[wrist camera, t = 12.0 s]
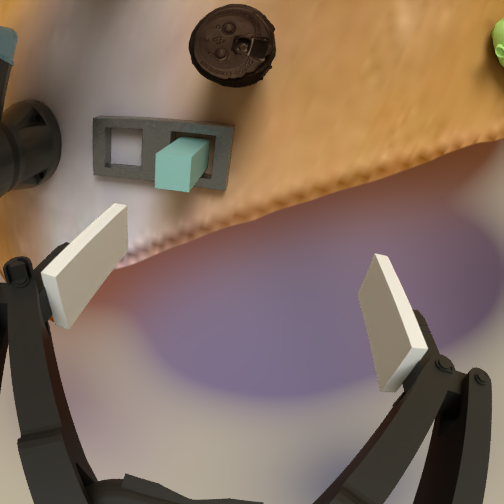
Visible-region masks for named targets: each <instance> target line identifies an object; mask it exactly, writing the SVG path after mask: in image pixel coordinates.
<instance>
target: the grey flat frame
mask: <svg viewBox="0 0 504 504" xmlns="http://www.w3.org/2000/svg"><path fill="white" fill-rule="evenodd" d="M111 127H114V128H136V129H143V137H142V166H133V165H122V164H111ZM234 129H235V125H227V124H219V123H210V122H200V121H190V120H179V119H165V118H149V117H126V116H98V117H95V118H93V171H94V175H101V176H111V177H121V178H130V179H140V180H148V181H155V163H156V153H158V152H159V151H160V150H162V149H163V148H165V147H166V146H168V145H169V144H171V143H172V142H174V141H175V131H177V132H188V133H198V134H207V135H215V136H216V140H215V149H214V158H213V167H212V175H210V174H202V175H201V177H200V178H199V179H198V181H197V182H196V183H195V185H194V186H196V187H203V188H210V189H217V190H224V191H225V190H226V187H227V183H228V175H229V167H230V159H231V152H232V144H233V136H234Z"/></svg>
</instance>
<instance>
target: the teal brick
mask: <svg viewBox="0 0 504 504" xmlns="http://www.w3.org/2000/svg"><path fill="white" fill-rule="evenodd" d="M209 148H210V139H203V138H193V137H183V136H182V137H180V138H178V139H177V140H175V141H174V142H172V143H171V144H169V145H168V146H166V147H165V148H163V149H162V150H160V151H159V152H158V153H156V163H155V188H158V189H166V190H174V191H182V192H190V190H191V189H192V188H193V186H194V185H195V183H196V182H197V181H198V179H199V178H200V177H201V175H202V174H203V173H204V171H205V170H206V169H207V167H208V158H209Z"/></svg>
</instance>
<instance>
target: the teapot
mask: <svg viewBox="0 0 504 504" xmlns="http://www.w3.org/2000/svg"><path fill="white" fill-rule="evenodd" d="M491 37H492V39H493V45H494V49H495V53H496V55H497V57H498V60H499V64H500V65H501V66H503V67H504V19H501V20H500V21H498V22H497V23H496V25H495V27H494V30H493V31H491Z"/></svg>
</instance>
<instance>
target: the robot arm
mask: <svg viewBox="0 0 504 504" xmlns="http://www.w3.org/2000/svg"><path fill="white" fill-rule="evenodd" d="M16 44H17V34H16V32H15V31H14V30H13V29H11V28H8V27H3V26H0V197H1V196H3V195H4V194H6V193H7V192H9V191H10V190H18V189H26V188H32V187H35V186H38V185H39V184H41V183H43V182H44V181H46V180H47V179H49V178H50V177H51V176H52V174H53V173H54V171H55V170H56V168H57V165H58V163H59V159H60V154H61V135H60V130H59V126H58V124H57V121H56V119H55V117H54V115H53V113H52V112H51V111H50V109H49V108H48V107H47V106H46V105H44V104H43V103H41V102H39V101H36V100H25V101H21V102H18V103H15V104H13V105H11V106H10V107H9V108H7V109H6V110H5V111H4V112H3V106H4V100H5V95H6V90H7V85H8V80H9V76H10V72H11V67H12V66H13V64H14V62H13V57H14V53H15V48H16ZM2 112H3V113H2ZM127 251H128V233H127V205H122V204H116V203H114V204H113V205H112V206H111V207H110V208H108V209H107V210H106V211H105V212H104V213H103V214H102V215H100V216H99V217H98V218H97V219H96V220H95V221H94V222H93V223H91V224H90V225H89V226H88V227H87V228H86V229H85V230H84V231H83V232H82V233H81V234H79V235H78V236H77V237H76V238H75V239H74V240H73V241H72V242H71V243H67V242H66V243H64V244H62V245H60V246H58V247H57V248H56V249H54V250H53V251H52V252H51V254H49V255H48V256H47V257H46V259H44V260H43V261H42V262H41V263H40V264H39V265H38V266H37V267H36V268H35V269H34V270H33V267H32V263H31V260H30V259H29V258H27V257H23V256H21V257H15V258H12V259H11V260H9V261H7V262H6V264H5V265H4V267H3V271H4V275H5V278H6V281H7V283H0V390H1V382H2V376H3V370H4V364H5V358H6V353H7V348H8V343H9V356H10V368H11V377H12V385H13V392H14V399H15V405H16V410H17V416H18V422H19V427H20V431H21V438H19V439H18V443H17V444H18V451H19V455H20V458H21V462H22V466H23V470H24V473H25V476H26V480H27V483H28V486H29V490H30V493H31V496H32V499H33V501H34V504H263V503H262V502H252V501H244V500H236V499H230V498H229V499H210V500H192V499H189V498H186V497H184V496H182V495H180V494H178V493H176V492H174V491H172V490H170V489H168V488H166V487H164V486H162V485H160V484H158V483H155V482H151V481H148V480H145V479H141V478H138V477H135V476H132V475H128V474H125V477H124V479H108V480H102V481H97V478H96V477H95V474H94V473H93V471H92V469H91V467H90V465H89V463H88V461H87V459H86V457H85V454H84V451H83V449H82V446H81V443H80V441H79V438H78V435H77V432H76V429H75V426H74V423H73V420H72V417H71V414H70V411H69V407H68V404H67V400H66V397H65V393H64V390H63V386H62V382H61V378H60V375H59V370H58V366H57V362H56V357H55V352H54V347H53V343H52V337H51V332H50V326H49V323H48V320H49V318H50V317H51V316H53V319H54V322H55V325H58V326H60V327H63V328H66V329H70V328H71V326H72V325H73V323H74V322H75V320H76V319H77V318H78V316H79V315H80V313H81V312H82V311H83V309H84V308H85V306H86V305H87V304H88V302H89V301H90V299H91V298H92V297H93V295H94V294H95V293H96V291H97V290H98V288H99V287H100V286H101V285H102V283H103V282H104V280H105V279H106V278H107V277H108V275H109V274H110V272H111V271H112V270H113V269H114V267H115V266H116V265H117V264H118V262H119V261H120V260H121V258H122V257H123V256H124V255H125V253H126V252H127ZM358 299H359V303H360V306H361V310H362V314H363V318H364V322H365V326H366V330H367V334H368V338H369V342H370V347H371V351H372V355H373V360H374V364H375V369H376V374H377V378H378V383H379V388H380V392H396V391H397V390H398V389H399V387H400V386H401V385H402V384H403V388H404V392H403V393H402V395H401V396H400V397H399V398H398V399H397V401H396V402H395V403H394V404H393V408H392V409H391V411H390V412H389V413H388V415H387V416H386V418H385V419H384V420H383V422H382V423H381V424H380V426H379V427H378V429H377V430H376V431H375V433H374V434H373V435H372V437H371V438H370V439H369V440H368V442H367V443H366V444H365V445H364V447H363V448H362V449H361V450H360V452H359V453H358V454H357V455H356V457H355V458H354V459H353V460H352V461H351V463H350V464H349V465H348V466H347V467H346V469H345V470H344V471H343V472H342V473H341V474H340V475H339V476H338V478H337V479H336V480H335V481H334V482H333V483H332V484H331V485H330V486H329V487H328V488H327V489H326V491H325V492H324V493H323V494H322V495H321V496H320V497H319V498H318V499H317V500H316V501H315V502H314V503H313V504H383V503H384V502H385V501H386V499H387V498H388V496H389V495H390V493H391V492H392V490H393V489H394V488H395V486H396V485H397V483H398V482H399V480H400V479H401V477H402V475H403V474H404V472H405V471H406V469H407V467H408V466H409V464H410V463H411V461H412V459H413V458H414V456H415V454H416V452H417V451H418V449H419V447H420V445H421V443H422V442H423V440H424V438H425V436H426V434H427V432H428V431H429V429H430V427H431V425H432V423H433V421H434V419H435V422H434V427H433V431H432V436H431V441H430V445H429V449H428V454H427V457H426V461H425V465H424V469H423V472H422V476H421V479H420V483H419V486H418V489H417V493H416V496H415V499H414V502H413V504H482V503H483V498H484V492H485V486H486V479H487V471H488V462H489V453H490V440H491V420H492V418H491V417H492V388H491V387H492V386H491V379H490V378H489V376H488V374H487V373H486V372H485V371H483V370H482V369H480V368H472V369H471V370H470V371H469V372H468V374H464V373H461V372H458V371H456V370H455V368H454V365H453V363H452V362H451V361H450V360H449V359H448V358H447V357H445V356H443V355H440V354H439V351H438V349H437V346H436V344H435V342H434V339H433V337H432V334H430V333H431V332H430V330H429V328H428V325H427V323H426V321H425V318H424V317H423V316H422V315H421V314H420V312H419V311H418V310H412V308H411V306H410V304H409V301H408V299H407V297H406V295H405V292H404V290H403V288H402V286H401V284H400V281H399V279H398V277H397V275H396V273H395V271H394V269H393V267H392V264H391V262H390V260H389V258H388V257H387V256H384V255H379V254H374V257H373V260H372V262H371V264H370V267H369V269H368V272H367V274H366V276H365V279H364V281H363V283H362V286H361V288H360V290H359V292H358Z"/></svg>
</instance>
